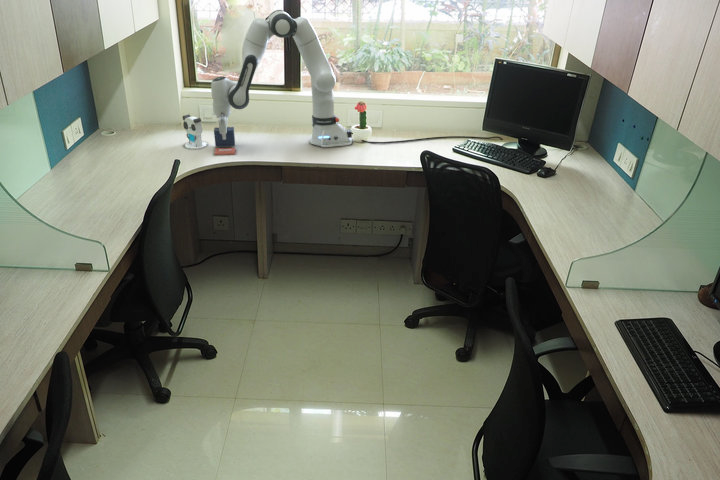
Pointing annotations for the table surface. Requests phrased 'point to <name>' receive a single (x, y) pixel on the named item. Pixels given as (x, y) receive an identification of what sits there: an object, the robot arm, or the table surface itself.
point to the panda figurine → (193, 132)
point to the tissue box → (229, 137)
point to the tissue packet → (224, 151)
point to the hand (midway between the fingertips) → (224, 137)
